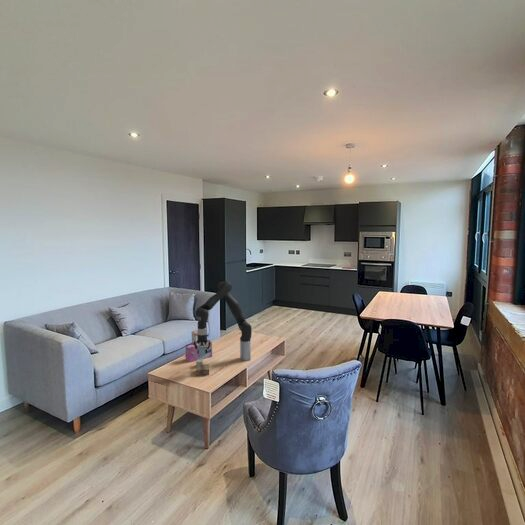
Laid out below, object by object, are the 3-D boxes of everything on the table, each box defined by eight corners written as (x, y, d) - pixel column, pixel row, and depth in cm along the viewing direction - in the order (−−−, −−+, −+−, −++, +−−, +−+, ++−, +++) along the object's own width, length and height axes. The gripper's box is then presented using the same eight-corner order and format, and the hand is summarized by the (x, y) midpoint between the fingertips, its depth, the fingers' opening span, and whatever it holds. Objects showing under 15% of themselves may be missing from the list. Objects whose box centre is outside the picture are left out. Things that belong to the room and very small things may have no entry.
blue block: (206, 353, 259) (206, 346, 258) (205, 355, 254) (205, 348, 253) (200, 353, 259) (199, 346, 258) (198, 355, 254) (198, 348, 253)
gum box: (210, 353, 297) (209, 339, 296) (213, 356, 291) (213, 342, 289) (185, 359, 284) (185, 344, 282) (188, 362, 277) (188, 347, 276)
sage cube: (202, 364, 273) (202, 359, 273) (202, 367, 268) (202, 361, 268) (196, 365, 272) (196, 359, 271) (196, 367, 267) (196, 362, 266)
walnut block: (209, 369, 264) (208, 364, 263) (209, 375, 254) (209, 369, 254) (196, 370, 262) (196, 364, 262) (196, 376, 252) (196, 370, 252)
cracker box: (203, 348, 309) (202, 327, 307) (207, 350, 305) (207, 328, 303) (191, 353, 298) (191, 331, 296) (196, 354, 295) (195, 332, 292)
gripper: (211, 331, 258) (212, 351, 260) (194, 331, 258) (194, 351, 260) (210, 334, 251) (210, 355, 253) (192, 334, 251) (192, 355, 253)
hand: (202, 353), depth 256 cm, fingers closed on blue block, 5 cm apart
